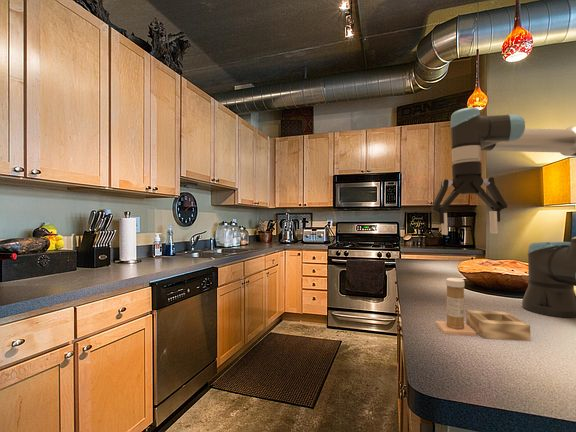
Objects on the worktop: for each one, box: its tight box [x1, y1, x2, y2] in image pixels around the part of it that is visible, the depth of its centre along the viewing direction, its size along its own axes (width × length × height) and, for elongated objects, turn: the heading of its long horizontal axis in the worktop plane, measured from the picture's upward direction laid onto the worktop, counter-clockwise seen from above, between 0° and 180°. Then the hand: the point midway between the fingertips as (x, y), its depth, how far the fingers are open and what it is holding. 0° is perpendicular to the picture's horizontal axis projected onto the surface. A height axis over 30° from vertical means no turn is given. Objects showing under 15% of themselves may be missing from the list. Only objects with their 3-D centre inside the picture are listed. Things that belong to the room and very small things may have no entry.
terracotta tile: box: [435, 320, 478, 337], centre depth 87 cm, size 8×8×1 cm
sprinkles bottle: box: [445, 277, 466, 329], centre depth 87 cm, size 5×5×14 cm
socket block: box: [465, 309, 531, 342], centre depth 85 cm, size 11×11×4 cm
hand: (469, 234), depth 91 cm, fingers open, 13 cm apart
